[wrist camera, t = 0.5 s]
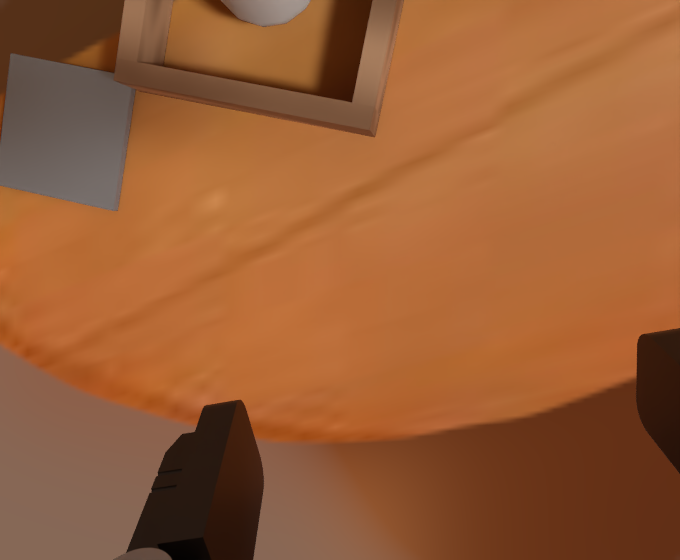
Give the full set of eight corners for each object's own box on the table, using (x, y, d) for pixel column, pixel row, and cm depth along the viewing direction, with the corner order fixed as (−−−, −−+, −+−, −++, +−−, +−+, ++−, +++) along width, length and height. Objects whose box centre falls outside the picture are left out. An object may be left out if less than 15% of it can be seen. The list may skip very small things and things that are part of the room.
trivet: (16, 55, 36) (10, 53, 35) (137, 78, 35) (132, 76, 34) (1, 184, 37) (-5, 184, 37) (117, 210, 36) (113, 210, 36)
